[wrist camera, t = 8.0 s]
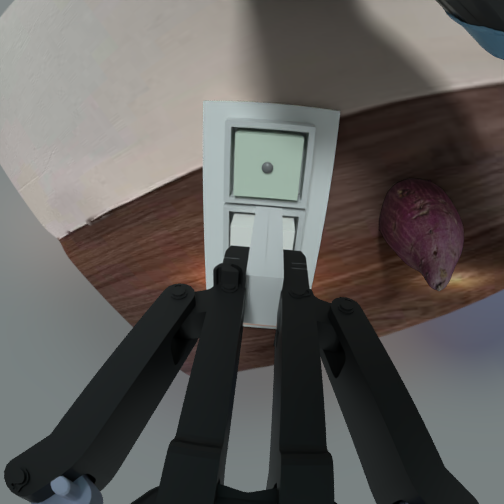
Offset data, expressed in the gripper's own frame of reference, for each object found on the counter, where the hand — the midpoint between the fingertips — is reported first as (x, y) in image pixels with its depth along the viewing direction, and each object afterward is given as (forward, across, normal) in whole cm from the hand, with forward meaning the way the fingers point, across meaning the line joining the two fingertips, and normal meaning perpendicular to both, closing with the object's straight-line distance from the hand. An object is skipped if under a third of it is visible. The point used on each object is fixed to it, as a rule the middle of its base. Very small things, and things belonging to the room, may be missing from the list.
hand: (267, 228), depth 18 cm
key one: (+16, 0, 0) cm, 16 cm away
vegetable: (+17, +19, -5) cm, 26 cm away
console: (+17, 0, -9) cm, 19 cm away
